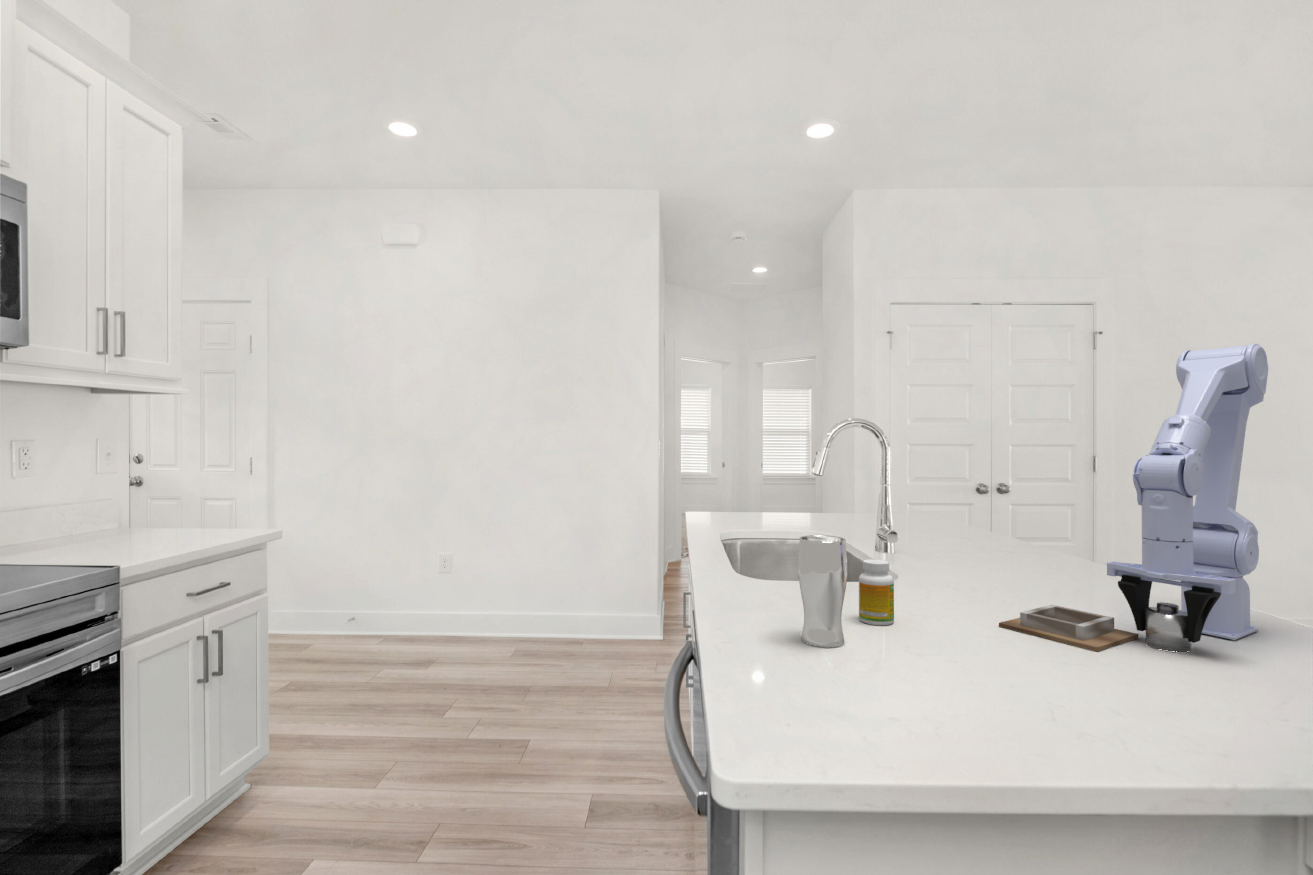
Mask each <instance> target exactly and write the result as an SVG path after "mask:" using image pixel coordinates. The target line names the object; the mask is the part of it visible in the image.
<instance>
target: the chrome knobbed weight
mask: <svg viewBox="0 0 1313 875" xmlns="http://www.w3.org/2000/svg"><path fill="white" fill-rule="evenodd" d="M1187 625H1188V616H1187V612H1185V611H1181V609H1179V605H1178V604H1176V603H1171V602H1162V601H1161V602H1157V603H1156V606H1149V607H1148V608H1146V609H1145V626H1146V630H1145V645H1146V646H1147V645H1148V646H1147V647H1149V646H1150V648H1152V649H1154V650H1155V649H1156V650H1158V649H1162V650H1161V651H1163V650H1168V651H1175V652H1174V653H1176V651H1177V652H1187V651H1190V650H1191V649H1192V648H1191V647H1192V642H1189V641H1188V637H1187ZM1168 651H1167V652H1168ZM1191 651H1192V650H1191ZM1191 651H1190V652H1191ZM1187 653H1188V652H1187Z"/></svg>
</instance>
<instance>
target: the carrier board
mask: <svg viewBox="0 0 1313 875" xmlns="http://www.w3.org/2000/svg"><path fill="white" fill-rule="evenodd" d="M1019 615H1020V616H1019V617H1017V618H1013V619H1008V620H1005V621H1001V622H998V627H999V628H1003V629H1006V630H1011V631H1013V632H1014V631H1015V632H1018V633H1021V634H1026V635H1029V636H1033V635H1034V637H1038V638H1040V639H1041V638H1042V639H1045V640H1050V641H1053V642H1057V643H1061V642H1063V643H1062V644H1065V643H1066V644H1065V645H1070V646H1074V647H1077V648H1080V649H1083V650H1084V649H1085V650H1089V651H1092V652H1101V651H1103V650H1107V649H1109V648H1110V649H1111V648H1113V647H1115V646H1118V645H1122V644H1125V643H1127V642H1130V641H1134V640H1136V639H1139V633H1136V632H1131V631H1126V630H1123V629H1122V630H1121V629H1118V628H1115V618H1114V617H1113V616H1112V617H1111V616H1106V615H1102V614H1097V613H1092V612H1088V611H1083V610H1078V609H1074V608H1070V607H1064V606H1061V605H1060V606H1059V605H1056V604H1049V605H1045V606H1040V607H1038V608H1037V607H1036V608H1033V609H1032V608H1031V609H1029V610H1026V611H1025V610H1024V611H1021V612H1019Z"/></svg>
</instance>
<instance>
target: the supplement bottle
mask: <svg viewBox="0 0 1313 875" xmlns="http://www.w3.org/2000/svg"><path fill="white" fill-rule="evenodd" d="M862 568H863V571H864V572H861V574H860V575H859V577H858V619H859V621H860V622H862V623H864V624H868V625H871V626H890V625H893V624H894V622H895V589H894V588H895V581H894V580H895V579H894V578H893V576H892V575H890V574H889V573H888V572H889V571H890V562H889V561H887V560H883V559H875V558H874V559H873V558H871V559H869V558H868V559H864V560H863V561H862Z"/></svg>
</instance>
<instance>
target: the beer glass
mask: <svg viewBox="0 0 1313 875" xmlns="http://www.w3.org/2000/svg"><path fill="white" fill-rule="evenodd" d="M798 540H799V544H798V556H797V559H798V560H797V572H798V581H799V582H798V583H799V589H800V595H801V601H802V606H803V626H802V631H801V637H800V638H801V642H803V643H804V642H805V643H804V644H806V643H808V644H811V645H815V646H820V647H819V648H823V647H832V648H838V646H839V647H841V645H842V646H843V645H844V644H845V637H844V633H843V632H844V631H843V625H842V614H843V607H844V606H843V605H844V600H845V596H846V595H845V594H846V590H847V589H846V588H847V582H848V555H847V543H846V538H845V537H844V538H843V537H841V536H834V535H826V534H825V535H824V534H823V535H821V534H818V535H817V534H815V535H811V534H810V535H803V536H800V537H799V539H798ZM808 644H807V645H808ZM811 645H810V646H811ZM815 646H814V647H815Z"/></svg>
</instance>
